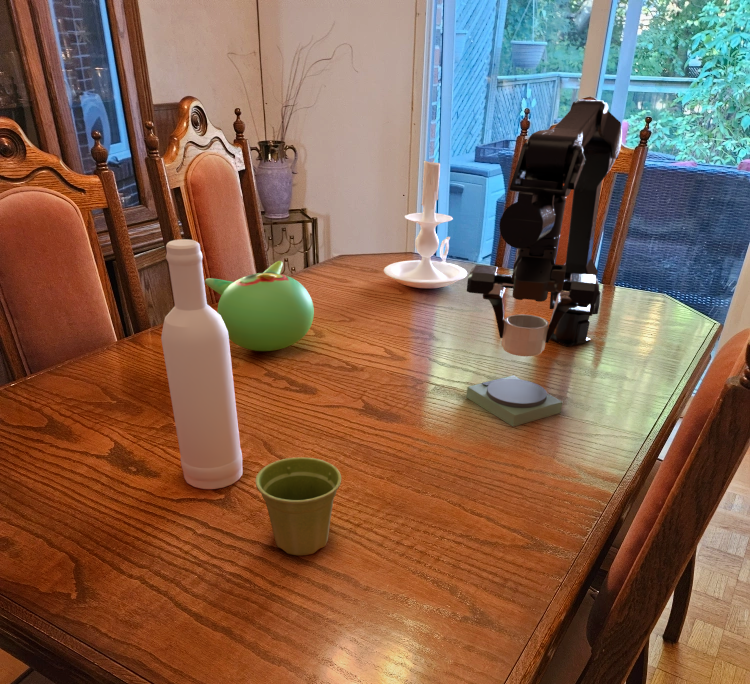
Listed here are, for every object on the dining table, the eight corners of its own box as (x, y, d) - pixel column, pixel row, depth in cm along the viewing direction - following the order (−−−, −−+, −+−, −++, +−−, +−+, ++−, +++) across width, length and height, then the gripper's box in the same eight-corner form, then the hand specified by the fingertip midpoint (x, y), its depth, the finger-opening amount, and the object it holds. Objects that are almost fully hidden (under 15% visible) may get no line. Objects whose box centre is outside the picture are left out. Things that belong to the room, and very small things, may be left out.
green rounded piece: (241, 370, 119) (232, 288, 111) (207, 340, 131) (198, 264, 122) (329, 352, 127) (327, 274, 119) (290, 325, 139) (286, 253, 131)
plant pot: (263, 518, 82) (258, 457, 77) (340, 516, 82) (339, 455, 77) (259, 567, 74) (252, 502, 69) (343, 564, 75) (343, 500, 70)
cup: (492, 346, 105) (496, 318, 103) (524, 339, 108) (528, 311, 106) (520, 360, 101) (524, 331, 98) (552, 352, 103) (557, 324, 101)
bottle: (176, 467, 91) (137, 238, 74) (232, 454, 94) (206, 231, 78) (194, 496, 85) (155, 254, 68) (252, 481, 89) (229, 247, 72)
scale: (466, 397, 111) (467, 382, 110) (511, 385, 116) (514, 370, 114) (513, 426, 103) (515, 410, 101) (560, 412, 107) (563, 397, 106)
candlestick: (483, 276, 173) (496, 155, 157) (447, 301, 154) (458, 168, 139) (411, 265, 180) (416, 149, 165) (369, 288, 162) (370, 160, 146)
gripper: (467, 241, 90) (456, 351, 99) (609, 252, 86) (586, 365, 95) (476, 225, 99) (466, 327, 108) (606, 234, 95) (585, 339, 104)
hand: (523, 339), depth 103 cm, fingers closed on cup, 7 cm apart
